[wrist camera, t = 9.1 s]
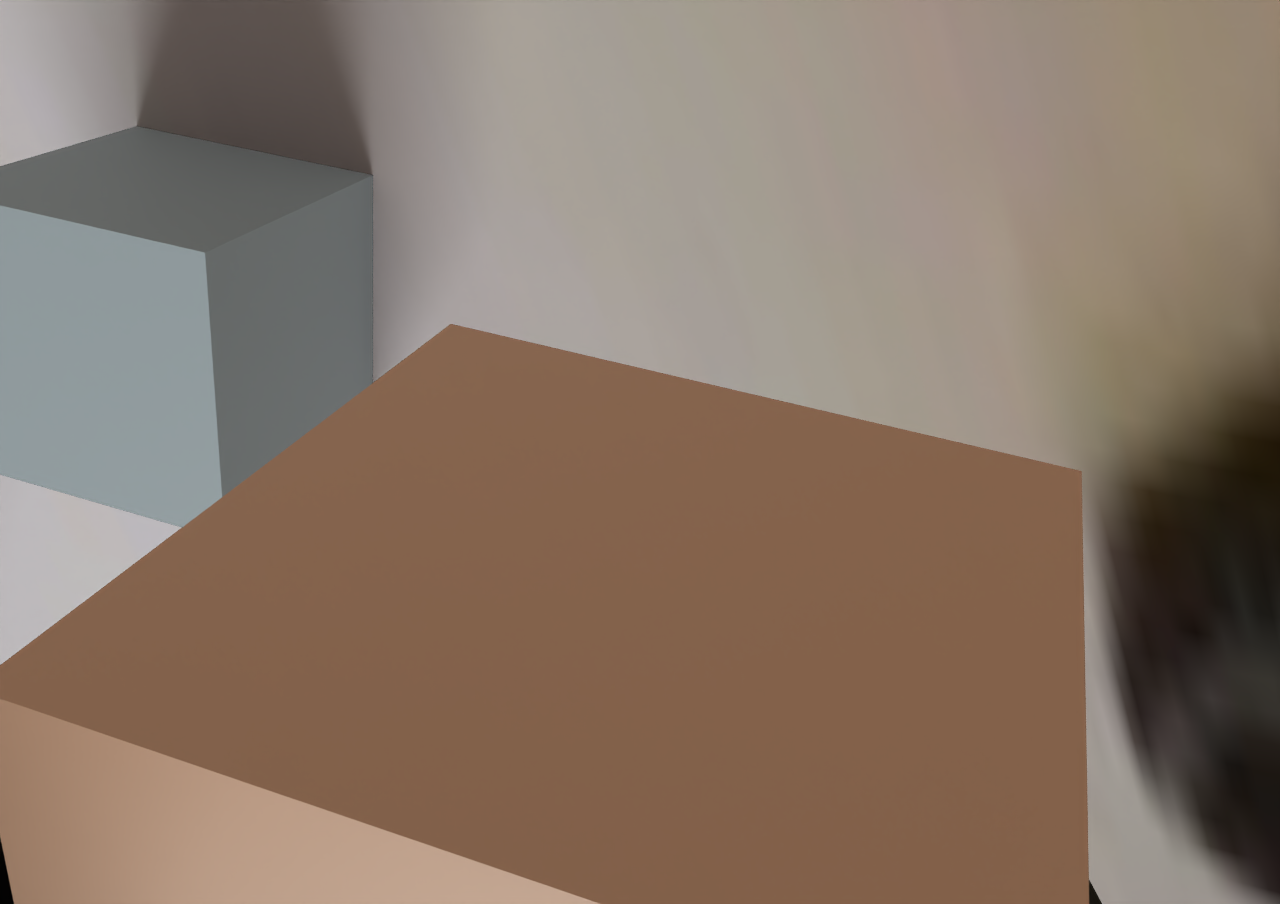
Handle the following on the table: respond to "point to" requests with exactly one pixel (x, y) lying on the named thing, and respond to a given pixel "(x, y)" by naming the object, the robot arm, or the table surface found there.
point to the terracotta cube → (572, 663)
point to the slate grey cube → (175, 315)
